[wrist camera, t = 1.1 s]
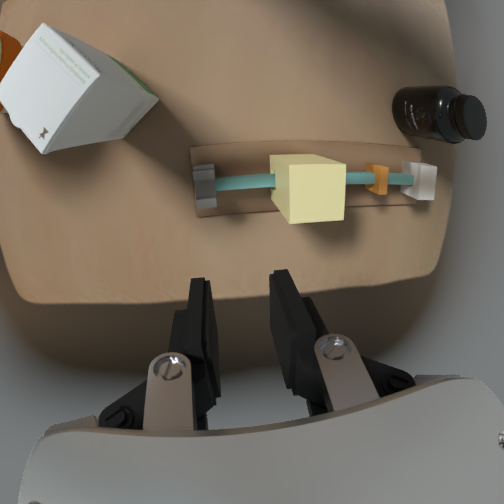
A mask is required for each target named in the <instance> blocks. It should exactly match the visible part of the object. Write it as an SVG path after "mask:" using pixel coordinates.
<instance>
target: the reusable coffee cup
mask: <svg viewBox="0 0 504 504" xmlns="http://www.w3.org/2000/svg"><path fill="white" fill-rule="evenodd" d="M22 49H23V46H21V44H20V43H19V41H18V40H17V39H15V38H13V37H11V36H10V35H8V34H6V33H4V32H2V31H0V83H1V81H2V79H3V78H4V76H5V75H6V73H7V71H8V70H9V68H10V67H11V65H12V64H13V62H14V61H15V59H16V58H17V56H18V55H19V53H20V52H21V50H22ZM3 113H7V110H6V109H5V108H4V106H3V105H2V103H1V102H0V114H3Z"/></svg>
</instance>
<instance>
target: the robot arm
mask: <svg viewBox="0 0 504 504" xmlns="http://www.w3.org/2000/svg"><path fill="white" fill-rule="evenodd" d="M269 286H270V328H271V333H272V336H273V340H274V344H275V347H276V351H277V354H278V358H279V362H280V366H281V369H282V373H283V377H284V381H285V384H286V388H287V389H291V388H292V392H293V395H294V396H295V395H299V396H301V397H303V398H305V399H306V404H307V408H308V412H309V417H308V418H302V419H297V420H292V421H286V422H280V423H274V424H267V425H259V426H252V427H242V428H232V429H219V430H209V429H208V419H207V413H206V412H207V411H208V410H209V409H211V408H212V407H213V405H216V398H217V397H221V387H220V370H219V347H218V331H217V324H216V318H215V312H214V306H213V299H212V292H211V286H210V280H208V281H205V278H204V277H203V278H192V279H191V283H190V291H189V299H188V307H187V309H186V310H176V311H175V314H174V319H173V325H172V331H171V337H170V343H169V350H168V353H164V354H162V355H160V356H158V357H156V358H155V359H154V360H153V361H152V362H151V364H150V367H149V371H148V379H147V380H146V381H144V382H143V383H142V384H140V385H139V386H137V387H136V388H134V389H133V390H131V391H130V392H128V393H127V394H126V395H124V396H123V397H121V398H120V399H118V400H117V401H115V402H114V403H112V404H111V405H109V406H108V407H106V408H105V409H104V410H103V411H102V412H101V414H100V416H99V417H95V416H94V415H91V416H87V417H84V418H80V419H76V420H72V421H68V422H64V423H60V424H55V425H53V426H50V427H49V428H48V429H47V430H46V432H45V434H44V436H42V437H41V438H40V439H39V440H38V441H37V443H36V444H35V445H34V447H33V449H32V451H31V454H30V456H29V459H28V461H27V465H26V467H25V471H24V475H23V479H22V483H21V488H20V494H19V499H18V504H504V406H503V405H502V403H501V402H500V401H499V400H498V398H497V397H496V396H495V395H494V394H493V392H492V391H491V390H490V389H489V388H488V387H487V386H486V385H485V384H483V383H482V382H481V381H479V380H478V379H475V378H472V377H461V376H459V375H416V376H415V377H412V376H411V375H409V374H408V373H407V372H405V371H403V370H400V369H397V368H394V367H391V366H388V365H385V364H382V363H379V362H377V361H374V360H371V359H368V358H365V357H363V356H360V355H359V353H358V351H357V349H356V347H355V345H354V343H353V342H352V341H351V340H350V339H349V338H347V337H345V336H343V335H339V334H329V333H328V331H327V329H326V327H325V325H324V323H323V321H322V319H321V317H320V315H319V313H318V311H317V309H316V307H315V305H314V303H313V301H312V300H311V298H310V297H301V296H300V294H299V292H298V290H297V288H296V286H295V284H294V282H293V280H292V278H291V276H290V273H289V271H288V270H287V269H283V270H274V274H270V275H269Z"/></svg>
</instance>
